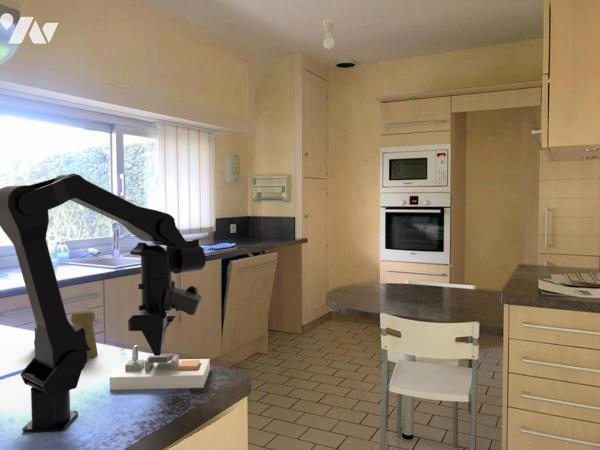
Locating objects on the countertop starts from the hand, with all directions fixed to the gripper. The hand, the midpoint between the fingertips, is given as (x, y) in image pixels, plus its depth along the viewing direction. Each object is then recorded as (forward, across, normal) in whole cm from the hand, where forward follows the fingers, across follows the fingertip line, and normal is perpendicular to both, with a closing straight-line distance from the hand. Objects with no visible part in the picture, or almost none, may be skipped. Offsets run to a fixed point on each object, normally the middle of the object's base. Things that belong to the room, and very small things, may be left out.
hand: (157, 355), depth 98 cm
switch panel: (+6, +4, 0) cm, 7 cm away
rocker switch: (+2, +4, 0) cm, 4 cm away
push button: (+6, +4, -6) cm, 9 cm away
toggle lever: (+2, +4, +6) cm, 7 cm away
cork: (+6, +21, +22) cm, 31 cm away
